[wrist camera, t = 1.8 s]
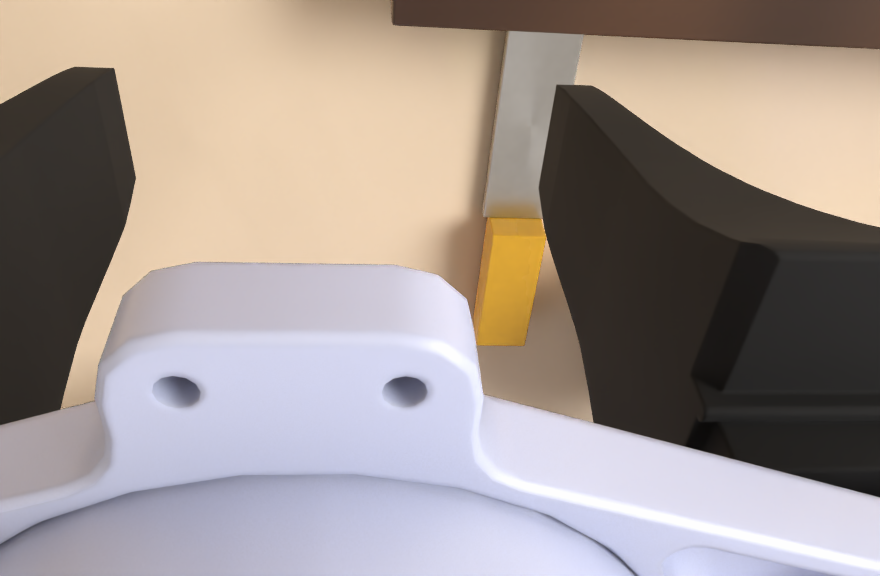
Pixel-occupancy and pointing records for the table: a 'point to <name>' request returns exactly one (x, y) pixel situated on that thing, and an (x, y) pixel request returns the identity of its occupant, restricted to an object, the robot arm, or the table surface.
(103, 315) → the table surface
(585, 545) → the robot arm
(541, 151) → the knife
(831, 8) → the walnut rail
